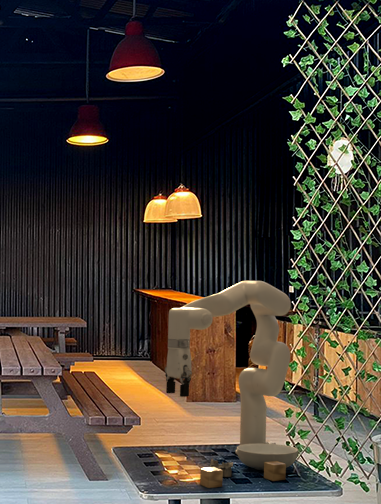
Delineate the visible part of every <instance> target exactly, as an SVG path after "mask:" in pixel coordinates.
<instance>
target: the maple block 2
mask: <svg viewBox="0 0 381 504" xmlns="http://www.w3.org/2000/svg"><path fill="white" fill-rule="evenodd" d="M286 477H287V468H286V464H285V463H281V462H278V461H272V462H264V471H263V478H264V479H266V480H269V481H272V482H277V481H286Z"/></svg>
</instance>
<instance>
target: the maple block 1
mask: <svg viewBox="0 0 381 504" xmlns="http://www.w3.org/2000/svg"><path fill="white" fill-rule="evenodd" d="M199 472H200V473H199V474H200V475H199V476H200V477H199V480H200V481H199V485H200V486H202V487H204V488H207V489H212V488H213V489H214V488H222V487H223V482H224V481H223V479H224V478H223V470H221V469H218V468H215V467H210V466H209V467H201V468H200V471H199Z"/></svg>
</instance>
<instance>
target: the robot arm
mask: <svg viewBox="0 0 381 504" xmlns="http://www.w3.org/2000/svg"><path fill="white" fill-rule="evenodd" d="M291 303H292V302H291V299H290V297H289V295H287V294H286V293H285V292H283V291H282V290H280V289H278V288H276V287H275V286H273V285H271V284H270V283H268V282H265V281H262V280H242V281H240V282H238V283H235V284H234V285H232V286H230V287H228V288H226V289H224V290H222V291H220V292H218V293H214V294H212V295H208V296H205V297H201V298H199V299H196V300H192V301H191V302H189V303H187V304H185V305H183V306H181V307H173V308H171V309H169V311H168V323H167V324H168V325H167V326H168V328H167V330H168V331H167V334H168V335H167V355H166V366H165V367H164V373H165V381H166V388H165V390H166V391H165V392H166V394H175V393H176V381H175V380H176V379H179V381H180V386H179V397H181V398H184V397H185V398H186V397H189V396H190V385H191V381H192V377H193V372H192V354H191V330H198V331H199V330H200V331H202V330H203V331H204V330H206V329H208V328H210V327H211V325H212V323H213V320H214V318H217V317H225V316H228V315H231V314H233V313H234V312H237V311H238V310H239V309H242V308H244V307H246V306H248V305H250V310H251V311H252V313H253V315H254V317H255V320H256V330H255V335H254V338H253V341H252V345H251V349H250V353H249V359H250V361H251V362H252V364H254V365H257V366H261V367H267V368H259V367H247V368H244V369H243V370H241V372H240V373H239V376H238V389H239V395H240V417H239V418H240V421H239V425H240V426H239V446H240V445H244V444H277V442H269V441H267V402H266V399H265V397H276V396H278V395H279V394H280V393H281V392H282V390H283V388H284V385H285V381H286V376H287V375H288V369H289V366H290V362H291V350H290V347H289V346H288V345H287V344H286V343H285V342H283V341H278V338H279V335H280V326H279V325H280V324H279V322H278V319H277V318H276V317H282V316H286V315H287V314H288V313H289V312H290V310H291V307H292V304H291ZM235 455H237V456H238V454H237V449H235Z"/></svg>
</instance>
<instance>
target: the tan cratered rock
mask: <svg viewBox="0 0 381 504" xmlns="http://www.w3.org/2000/svg"><path fill="white" fill-rule="evenodd" d="M233 466H234V461H232V462H229V461H227V462H224V461H222V462H221V463H220V464H219V461H218V460H216V459H215V460H214V458H211V459H210V462H209V468H210V467H215V468H218V469H221V470H223V477H225V478H230V477H232V468H233Z"/></svg>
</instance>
